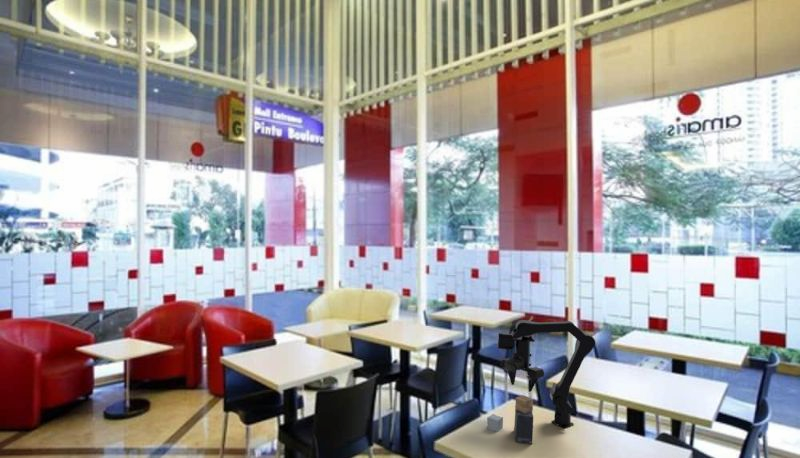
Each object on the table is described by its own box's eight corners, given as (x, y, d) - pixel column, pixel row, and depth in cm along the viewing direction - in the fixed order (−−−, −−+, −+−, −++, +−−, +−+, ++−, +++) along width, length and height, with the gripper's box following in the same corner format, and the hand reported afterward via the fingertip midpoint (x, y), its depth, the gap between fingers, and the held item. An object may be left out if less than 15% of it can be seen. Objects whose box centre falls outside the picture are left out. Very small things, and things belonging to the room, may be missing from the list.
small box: (533, 445, 164) (534, 416, 164) (515, 442, 165) (516, 414, 165) (530, 432, 174) (531, 405, 174) (513, 430, 175) (514, 403, 175)
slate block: (492, 425, 180) (492, 414, 180) (502, 428, 177) (503, 417, 177) (486, 428, 176) (487, 417, 176) (497, 432, 173) (497, 420, 173)
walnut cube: (523, 406, 173) (523, 395, 173) (532, 411, 169) (533, 399, 169) (515, 409, 170) (515, 397, 170) (524, 413, 167) (525, 401, 167)
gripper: (492, 347, 190) (491, 384, 189) (527, 359, 174) (525, 399, 174) (510, 344, 196) (509, 380, 196) (545, 355, 180) (544, 394, 180)
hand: (521, 388), depth 186 cm, fingers open, 9 cm apart
